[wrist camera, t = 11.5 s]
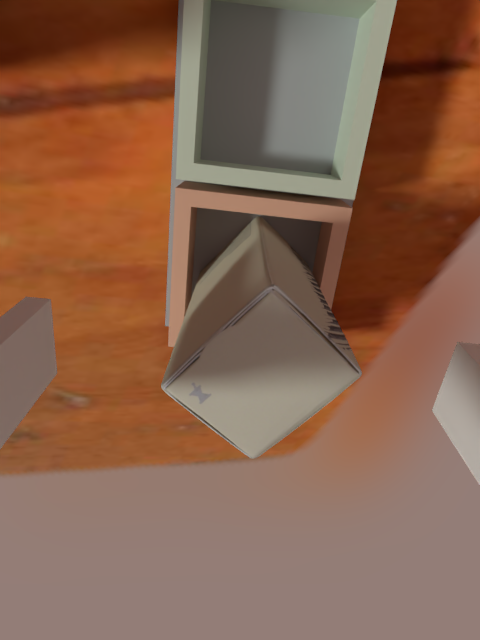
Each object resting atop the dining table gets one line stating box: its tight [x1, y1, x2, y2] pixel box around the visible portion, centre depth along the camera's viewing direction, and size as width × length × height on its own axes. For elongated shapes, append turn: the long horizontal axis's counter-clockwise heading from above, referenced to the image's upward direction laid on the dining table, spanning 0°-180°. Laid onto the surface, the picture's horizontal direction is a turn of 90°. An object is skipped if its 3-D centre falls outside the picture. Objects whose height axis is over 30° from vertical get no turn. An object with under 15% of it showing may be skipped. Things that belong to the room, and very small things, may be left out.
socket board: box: [165, 0, 397, 347], centre depth 22 cm, size 18×10×4 cm, turn 174°
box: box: [161, 216, 362, 458], centre depth 19 cm, size 5×4×13 cm
